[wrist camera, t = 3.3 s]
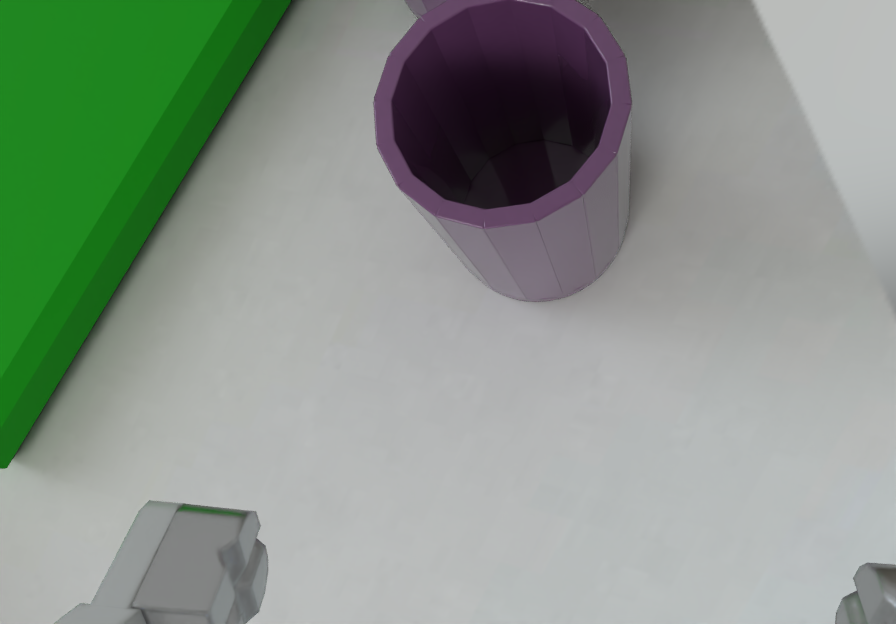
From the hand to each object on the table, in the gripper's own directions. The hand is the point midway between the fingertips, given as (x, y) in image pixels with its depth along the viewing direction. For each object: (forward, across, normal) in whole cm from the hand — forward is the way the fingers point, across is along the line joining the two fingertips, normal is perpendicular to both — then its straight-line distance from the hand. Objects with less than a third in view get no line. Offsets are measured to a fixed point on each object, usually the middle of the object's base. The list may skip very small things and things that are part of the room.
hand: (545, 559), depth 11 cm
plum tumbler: (+19, 0, +6) cm, 20 cm away
